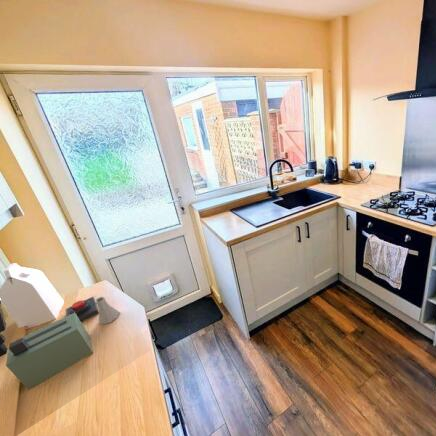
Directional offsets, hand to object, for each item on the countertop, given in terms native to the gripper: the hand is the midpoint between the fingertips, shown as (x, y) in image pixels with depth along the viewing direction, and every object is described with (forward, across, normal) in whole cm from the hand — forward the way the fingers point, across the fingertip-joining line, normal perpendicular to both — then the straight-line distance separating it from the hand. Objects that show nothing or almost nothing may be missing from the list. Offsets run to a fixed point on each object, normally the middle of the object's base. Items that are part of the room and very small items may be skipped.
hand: (3, 352), depth 73 cm
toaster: (+15, +8, +3) cm, 17 cm away
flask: (+15, +24, +13) cm, 31 cm away
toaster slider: (+3, +3, 0) cm, 4 cm away
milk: (+15, +3, +39) cm, 41 cm away
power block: (+14, +16, +26) cm, 34 cm away
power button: (+11, +16, +26) cm, 32 cm away
